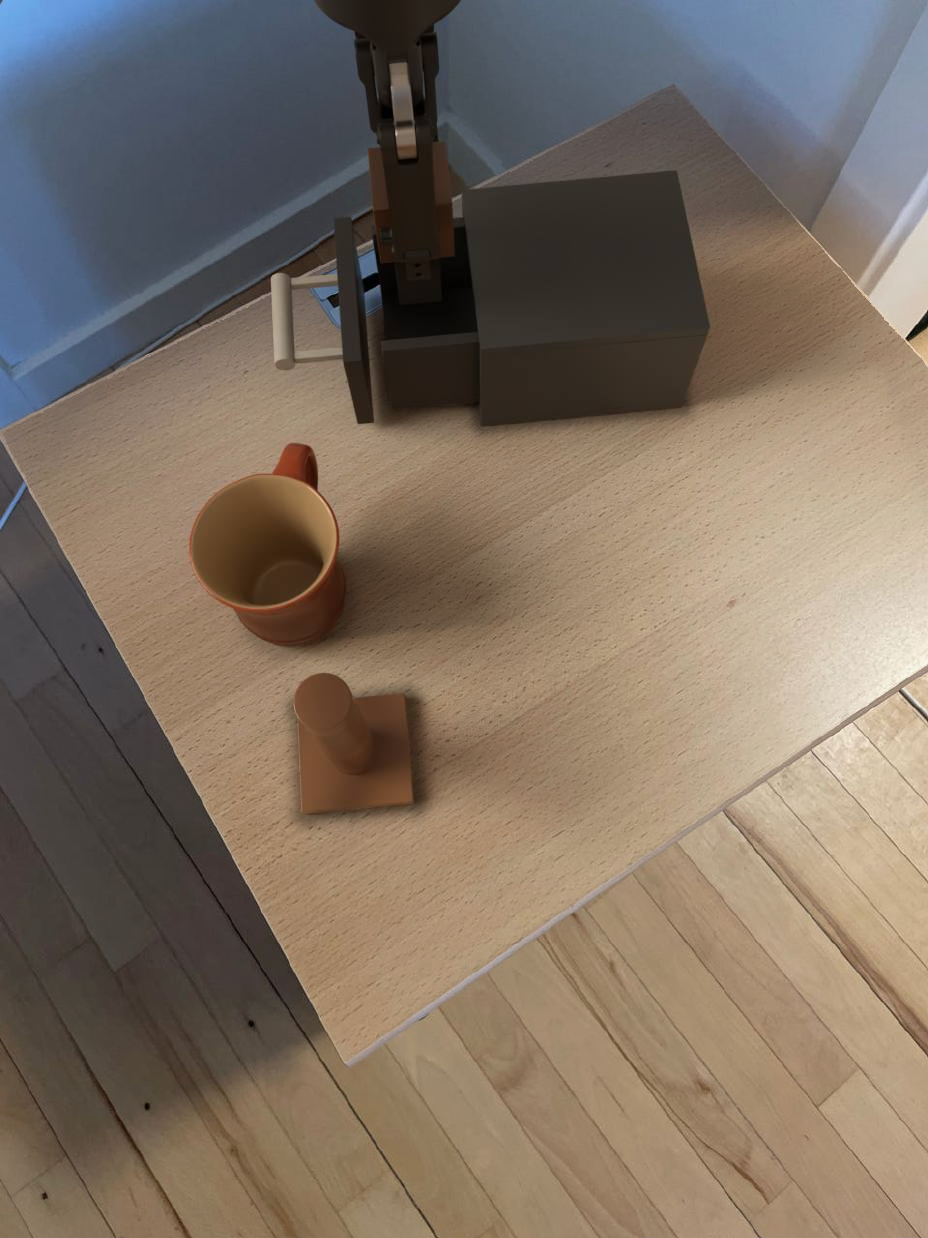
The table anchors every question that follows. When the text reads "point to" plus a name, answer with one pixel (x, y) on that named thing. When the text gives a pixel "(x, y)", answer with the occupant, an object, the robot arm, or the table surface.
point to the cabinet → (583, 297)
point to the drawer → (392, 330)
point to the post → (351, 747)
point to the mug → (273, 552)
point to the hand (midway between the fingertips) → (417, 264)
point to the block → (441, 197)
